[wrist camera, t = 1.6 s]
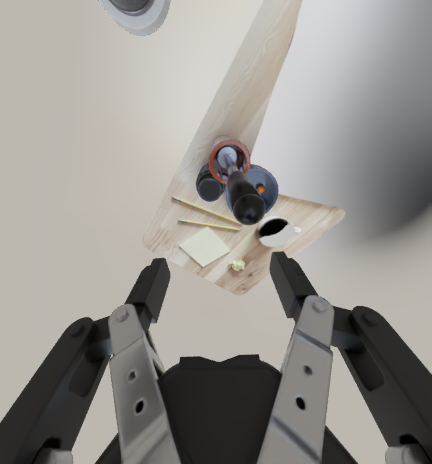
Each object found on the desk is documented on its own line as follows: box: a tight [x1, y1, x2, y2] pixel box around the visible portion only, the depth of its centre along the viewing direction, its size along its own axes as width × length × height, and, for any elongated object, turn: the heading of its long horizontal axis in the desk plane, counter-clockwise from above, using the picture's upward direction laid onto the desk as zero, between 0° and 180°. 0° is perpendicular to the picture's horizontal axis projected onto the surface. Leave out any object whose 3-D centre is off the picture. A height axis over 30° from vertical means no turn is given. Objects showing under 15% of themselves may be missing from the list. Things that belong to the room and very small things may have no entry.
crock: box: [209, 136, 250, 184], centre depth 27 cm, size 5×5×20 cm
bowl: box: [225, 164, 278, 213], centre depth 39 cm, size 12×12×5 cm
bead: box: [257, 185, 265, 193], centre depth 39 cm, size 2×2×2 cm
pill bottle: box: [196, 164, 225, 202], centre depth 34 cm, size 6×6×11 cm
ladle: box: [217, 146, 266, 225], centre depth 15 cm, size 3×3×20 cm
